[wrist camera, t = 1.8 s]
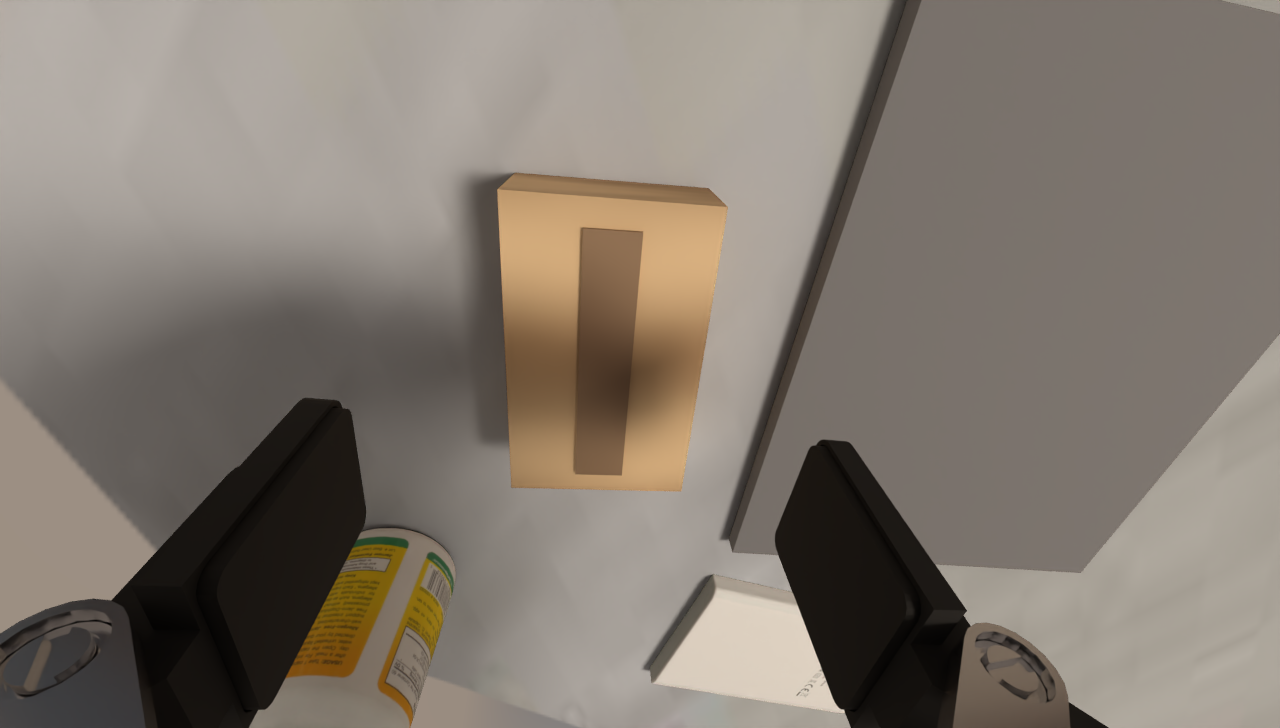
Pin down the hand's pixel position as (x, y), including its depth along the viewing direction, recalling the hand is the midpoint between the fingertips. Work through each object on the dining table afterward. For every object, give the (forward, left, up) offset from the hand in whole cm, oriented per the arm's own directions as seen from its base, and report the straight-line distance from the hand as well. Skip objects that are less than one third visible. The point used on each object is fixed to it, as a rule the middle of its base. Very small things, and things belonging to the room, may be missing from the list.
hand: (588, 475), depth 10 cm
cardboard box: (0, 0, -9) cm, 9 cm away
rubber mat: (+1, -16, -8) cm, 18 cm away
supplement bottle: (-13, +8, -9) cm, 18 cm away
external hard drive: (-18, -12, -9) cm, 24 cm away
